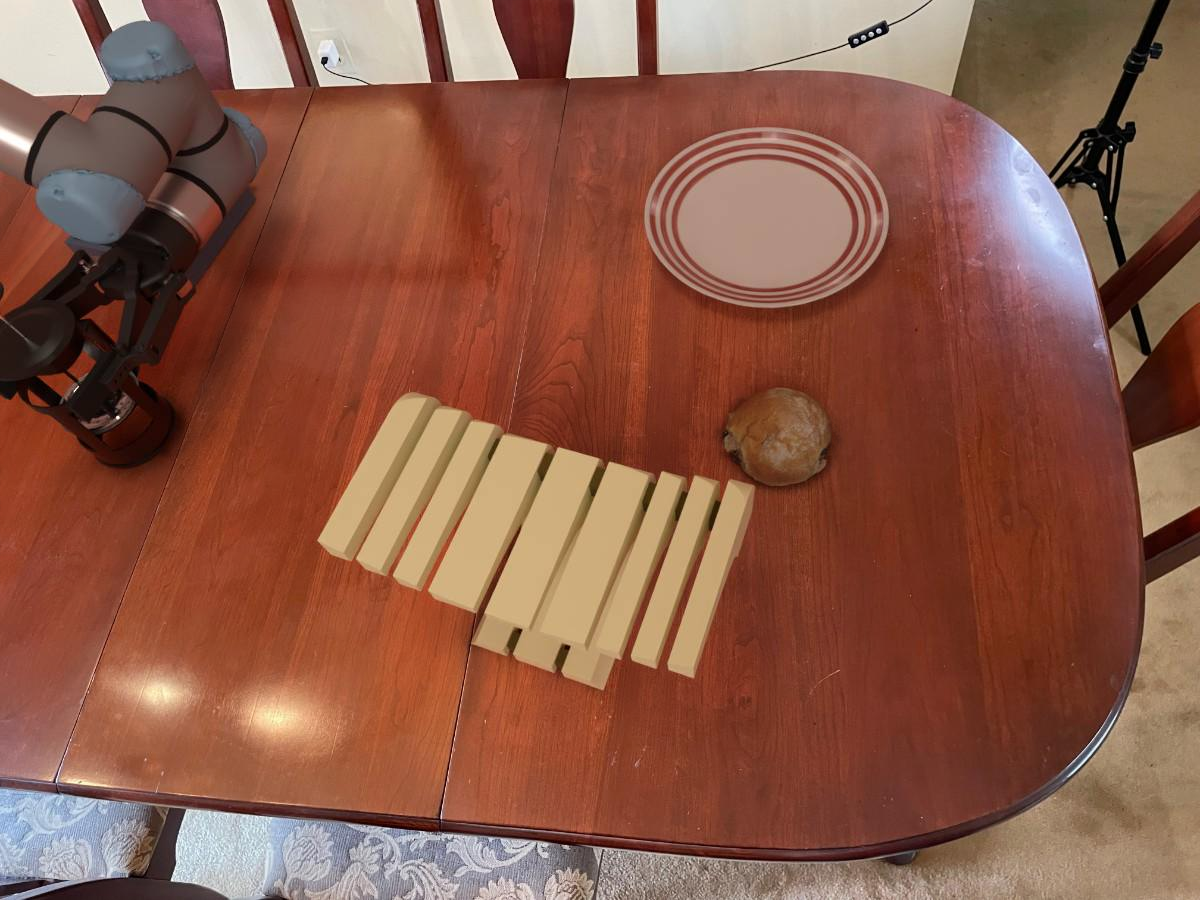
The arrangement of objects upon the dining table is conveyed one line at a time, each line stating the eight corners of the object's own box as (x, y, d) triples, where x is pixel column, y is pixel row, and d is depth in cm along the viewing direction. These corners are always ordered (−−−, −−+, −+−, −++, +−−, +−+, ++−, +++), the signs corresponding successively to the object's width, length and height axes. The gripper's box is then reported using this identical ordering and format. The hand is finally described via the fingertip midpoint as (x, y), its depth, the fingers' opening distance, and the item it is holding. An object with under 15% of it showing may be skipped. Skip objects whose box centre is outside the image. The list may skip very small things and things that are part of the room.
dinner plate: (916, 180, 100) (923, 158, 97) (835, 354, 89) (840, 335, 86) (703, 125, 109) (703, 103, 106) (605, 278, 98) (602, 258, 95)
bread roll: (793, 512, 85) (838, 487, 78) (703, 469, 83) (741, 441, 76) (814, 429, 89) (858, 400, 82) (729, 388, 88) (766, 353, 81)
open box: (93, 274, 107) (63, 242, 102) (165, 182, 114) (140, 147, 109) (188, 296, 103) (162, 263, 98) (256, 199, 111) (235, 164, 106)
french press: (165, 471, 89) (7, 340, 69) (81, 479, 90) (-99, 351, 70) (188, 378, 95) (49, 233, 75) (109, 386, 95) (-50, 244, 75)
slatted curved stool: (746, 557, 79) (757, 468, 64) (695, 723, 72) (693, 667, 57) (461, 473, 87) (410, 375, 72) (391, 615, 80) (317, 540, 65)
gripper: (269, 271, 90) (152, 449, 80) (107, 236, 95) (-22, 399, 86) (236, 220, 84) (104, 407, 74) (64, 185, 89) (-81, 355, 79)
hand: (37, 402), depth 80 cm, fingers closed on french press, 9 cm apart
